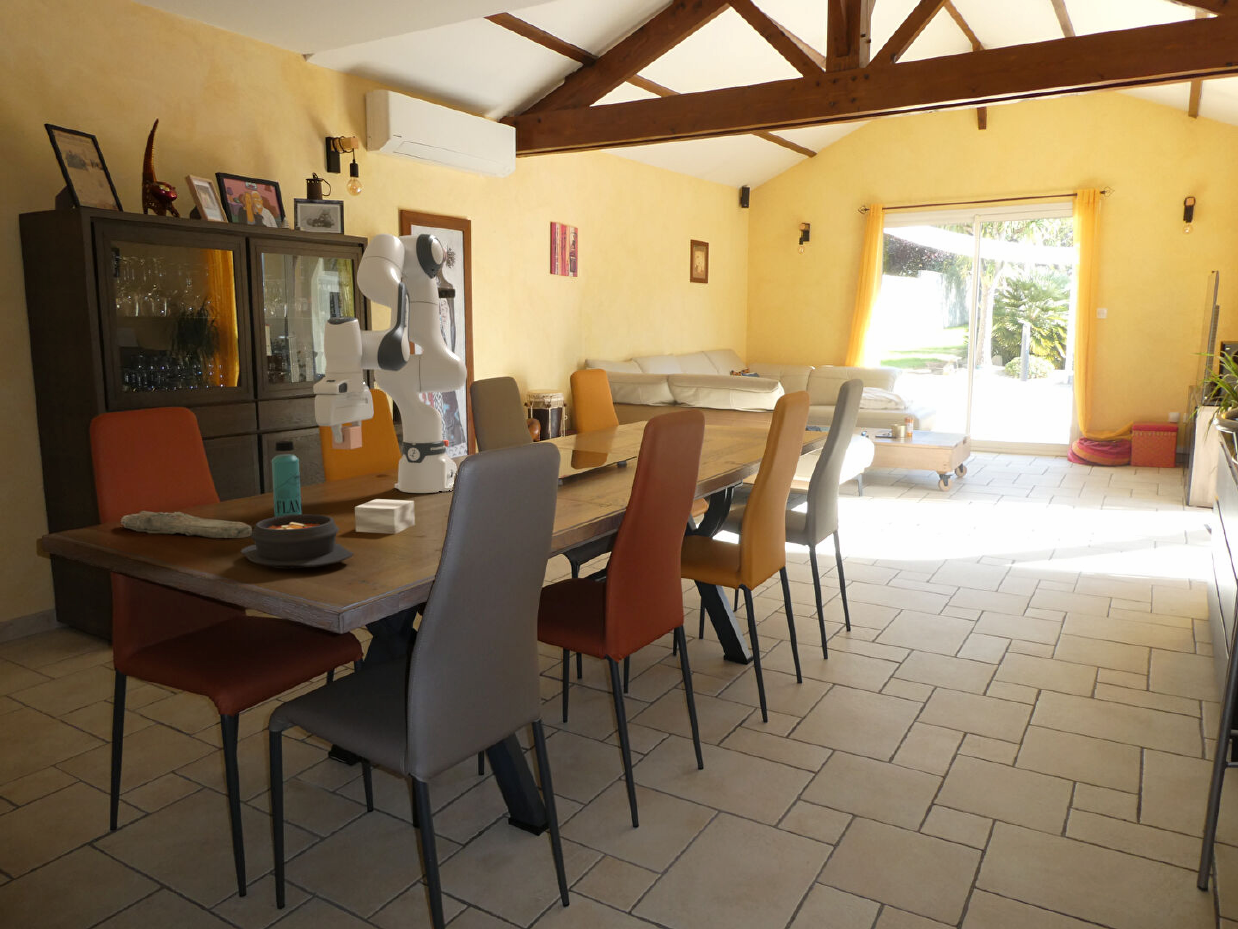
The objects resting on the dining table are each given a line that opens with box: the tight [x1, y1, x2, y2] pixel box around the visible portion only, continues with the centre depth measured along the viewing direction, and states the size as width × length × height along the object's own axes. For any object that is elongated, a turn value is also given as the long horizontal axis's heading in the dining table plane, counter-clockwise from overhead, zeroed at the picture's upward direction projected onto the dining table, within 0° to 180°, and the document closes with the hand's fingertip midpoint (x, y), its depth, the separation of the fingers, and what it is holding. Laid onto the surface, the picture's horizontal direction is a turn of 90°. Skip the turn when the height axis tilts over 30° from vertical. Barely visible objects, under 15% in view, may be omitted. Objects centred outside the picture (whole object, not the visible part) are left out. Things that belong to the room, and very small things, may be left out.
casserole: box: [240, 513, 354, 569], centre depth 183 cm, size 25×19×8 cm
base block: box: [354, 498, 416, 535], centre depth 213 cm, size 10×10×6 cm
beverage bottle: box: [271, 440, 303, 517], centre depth 216 cm, size 6×7×20 cm
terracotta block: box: [331, 425, 363, 450], centre depth 220 cm, size 5×5×5 cm
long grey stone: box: [120, 510, 253, 539], centre depth 209 cm, size 35×5×10 cm
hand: (347, 440), depth 221 cm, fingers closed on terracotta block, 5 cm apart
